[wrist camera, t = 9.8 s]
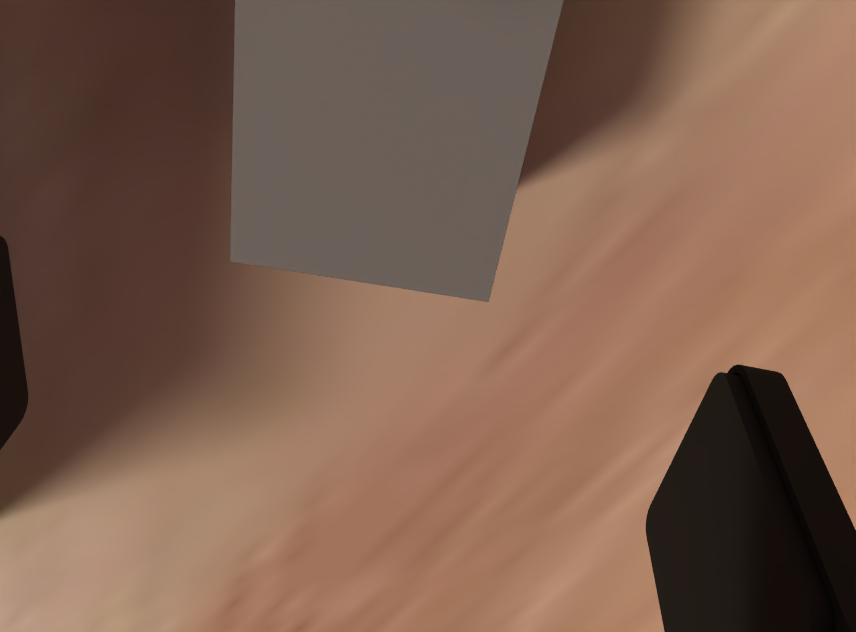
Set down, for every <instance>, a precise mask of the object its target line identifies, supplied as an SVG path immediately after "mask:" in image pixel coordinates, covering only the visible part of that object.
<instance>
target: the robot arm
mask: <svg viewBox="0 0 856 632" xmlns="http://www.w3.org/2000/svg"><path fill="white" fill-rule="evenodd" d="M27 404H28V388H27V381H26V374H25V367H24V360H23V353H22V345H21V338H20V331H19V324H18V317H17V310H16V302H15V295H14V288H13V281H12V274H11V267H10V259H9V252H8V247H7V243H6V241H5V239H4V238H3V237H1V236H0V450H1V448H2V447H3V446H4V444H5V443H6V441H7V440H8V439H9V437H10V436H11V434H12V433H13V432H14V430H15V429H16V428H17V426H18V425H19V423H20V422H21V420H22V419H23V417H24V414H25V412H26V408H27ZM646 536H647V541H648V546H649V551H650V557H651V562H652V567H653V573H654V578H655V583H656V588H657V594H658V599H659V604H660V609H661V615H662V620H663V625H664V631H665V632H856V530H855V528H854V526H853V524H852V522H851V519H850V517H849V515H848V513H847V511H846V509H845V506H844V504H843V502H842V500H841V498H840V496H839V493H838V491H837V489H836V487H835V485H834V483H833V480H832V478H831V476H830V474H829V472H828V470H827V468H826V465H825V463H824V461H823V459H822V457H821V455H820V452H819V450H818V448H817V446H816V444H815V442H814V439H813V437H812V435H811V433H810V431H809V429H808V426H807V424H806V422H805V420H804V418H803V416H802V414H801V411H800V409H799V407H798V405H797V403H796V401H795V398H794V396H793V394H792V392H791V390H790V388H789V385H788V383H787V381H786V379H785V378H784V376H783V375H782V374H781V373H779V372H775V371H770V370H765V369H759V368H754V367H749V366H743V365H735V366H733V367H732V368H731V369H730V370H729V371H728V373H722V372H721V373H718V374H717V375H715V377H714V378H713V380H712V381H711V383H710V385H709V388H708V390H707V392H706V394H705V396H704V398H703V400H702V402H701V404H700V406H699V408H698V410H697V412H696V414H695V416H694V418H693V420H692V422H691V424H690V426H689V428H688V430H687V432H686V434H685V436H684V438H683V440H682V442H681V444H680V446H679V448H678V450H677V452H676V454H675V456H674V458H673V460H672V463H671V465H670V467H669V469H668V471H667V473H666V475H665V477H664V479H663V481H662V483H661V485H660V487H659V489H658V491H657V493H656V495H655V497H654V499H653V501H652V503H651V505H650V508H649V510H648V514H647V519H646Z"/></svg>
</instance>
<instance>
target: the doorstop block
mask: <svg viewBox="0 0 856 632" xmlns="http://www.w3.org/2000/svg"><path fill="white" fill-rule="evenodd" d="M563 1H564V0H235V32H234V83H233V134H232V185H231V235H230V262H237V263H243V264H249V265H256V266H262V267H268V268H275V269H281V270H288V271H294V272H300V273H307V274H313V275H319V276H326V277H332V278H339V279H345V280H351V281H358V282H364V283H370V284H377V285H383V286H389V287H396V288H402V289H409V290H415V291H421V292H428V293H434V294H440V295H447V296H453V297H459V298H466V299H472V300H479V301H485V302H489V298H490V294H491V290H492V286H493V282H494V278H495V274H496V270H497V266H498V262H499V258H500V254H501V250H502V246H503V242H504V238H505V234H506V230H507V226H508V222H509V218H510V214H511V210H512V206H513V202H514V198H515V194H516V190H517V185H518V181H519V177H520V173H521V169H522V165H523V161H524V157H525V153H526V149H527V145H528V141H529V137H530V133H531V129H532V125H533V121H534V117H535V113H536V109H537V105H538V101H539V97H540V93H541V89H542V85H543V81H544V77H545V73H546V69H547V65H548V61H549V57H550V53H551V49H552V45H553V41H554V37H555V33H556V29H557V25H558V21H559V17H560V13H561V9H562V5H563Z"/></svg>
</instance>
